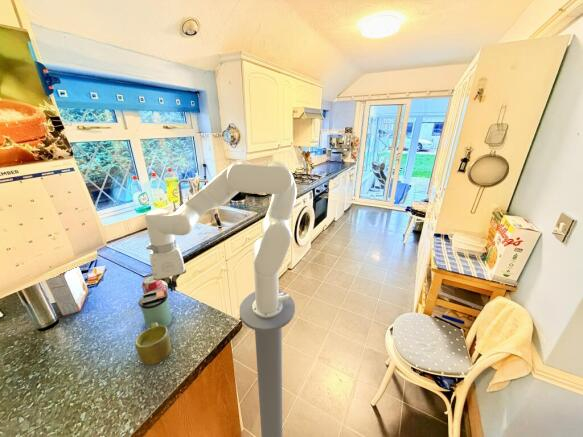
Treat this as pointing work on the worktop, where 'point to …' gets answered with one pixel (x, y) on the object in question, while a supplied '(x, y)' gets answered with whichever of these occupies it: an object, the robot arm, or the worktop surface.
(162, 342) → the mug
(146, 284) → the soda can
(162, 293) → the slider
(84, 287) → the cracker box
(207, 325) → the worktop surface
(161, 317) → the tumbler
